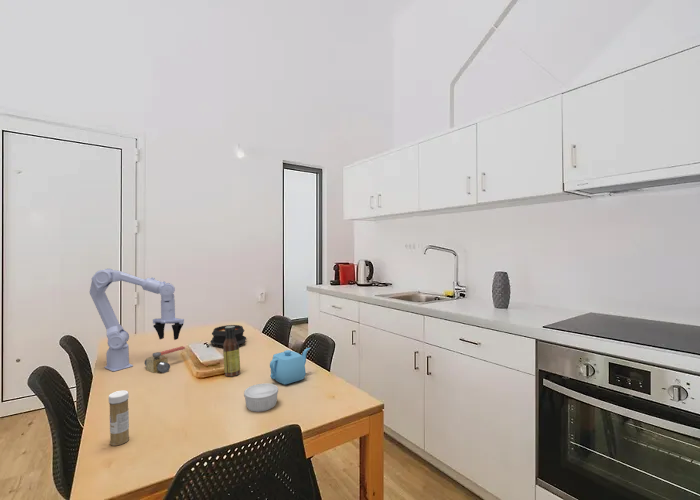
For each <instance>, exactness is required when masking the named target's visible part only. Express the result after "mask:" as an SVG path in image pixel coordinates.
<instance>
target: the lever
mask: <svg viewBox="0 0 700 500" xmlns="http://www.w3.org/2000/svg"><path fill="white" fill-rule="evenodd" d="M181 350H183V351H184V350H185V346H183V345H182V346H177V347H175V348H169V349H166V350H163V351H158V352H153V353H152V357H159V356H161V355H162V356H165V355H168V354H171V353H175V352H178V351H181Z"/></svg>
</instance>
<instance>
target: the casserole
mask: <svg viewBox="0 0 700 500" xmlns="http://www.w3.org/2000/svg"><path fill="white" fill-rule="evenodd" d="M226 326H235V337H236V339H237V342H238V345H239V346H240V345H242V344H245V343H246V340H247V336H245V335H244V332H245V329H244V328H243V326H242V325H238V324H230V325H229V324H228V325H227V324H226V325H221V326H217V327H215V328H214V329H213V331H212V333H211V335H212V336H213V337H212V339H211V340H210V341H209V343H210V344H212V345H216V346H222V347H223V343H224V341H225V338H226V337H225V336H226V334H225V327H226Z"/></svg>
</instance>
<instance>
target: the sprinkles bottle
mask: <svg viewBox="0 0 700 500" xmlns="http://www.w3.org/2000/svg"><path fill="white" fill-rule="evenodd" d="M108 403H109V435H110V440H109V444H110V446H113V447H115V446H117V447H118V446H120V445H124V444H125V443H127V442H129V440H130V435H129V434H130V433H129V432H130V431H129V430H130V429H129V428H130V417H129V391H127V390H117V391H114V392H112V393H111V392H110V394H109V395H108Z"/></svg>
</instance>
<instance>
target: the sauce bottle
mask: <svg viewBox="0 0 700 500" xmlns="http://www.w3.org/2000/svg"><path fill="white" fill-rule="evenodd" d="M225 326H226V325H225ZM225 334H226V336H225V337H226V338H225V341H224V343H223V346H222V350H223V351H222V352H223V353H222V354H223V355H222V356H223V369H224V370H223V371H224V375H225V377H236V376H238V375H240V373H241V361H240V360H241V359H240V344H239V345H238V342H237V339H236V337H235V326H226V327H225Z"/></svg>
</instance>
